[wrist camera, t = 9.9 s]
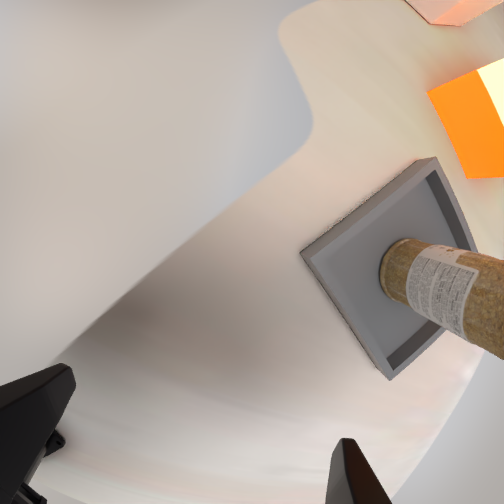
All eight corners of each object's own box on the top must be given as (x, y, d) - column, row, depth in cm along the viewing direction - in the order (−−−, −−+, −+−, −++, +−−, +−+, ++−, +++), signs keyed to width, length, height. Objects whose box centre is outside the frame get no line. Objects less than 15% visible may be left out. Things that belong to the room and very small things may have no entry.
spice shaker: (436, 248, 20) (595, 290, 7) (415, 308, 21) (559, 388, 7) (389, 227, 20) (570, 261, 6) (366, 293, 20) (524, 389, 7)
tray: (376, 367, 22) (389, 381, 20) (299, 252, 20) (310, 258, 18) (471, 277, 22) (488, 283, 20) (417, 159, 20) (436, 156, 18)
